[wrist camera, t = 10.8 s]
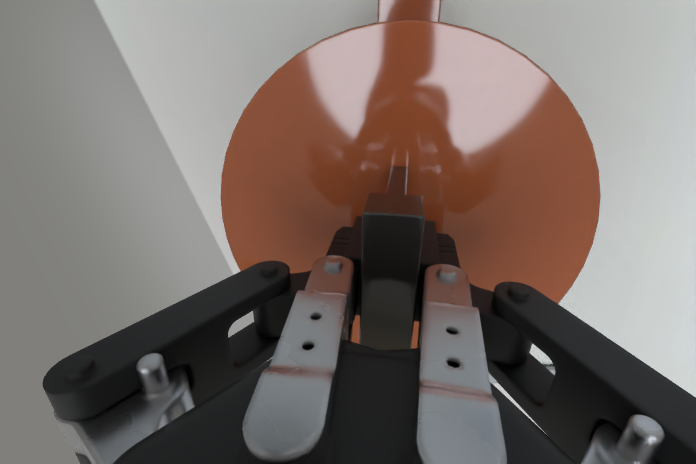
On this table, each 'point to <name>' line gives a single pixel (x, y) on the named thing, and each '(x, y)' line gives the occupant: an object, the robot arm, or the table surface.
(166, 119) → the table surface
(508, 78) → the lid
